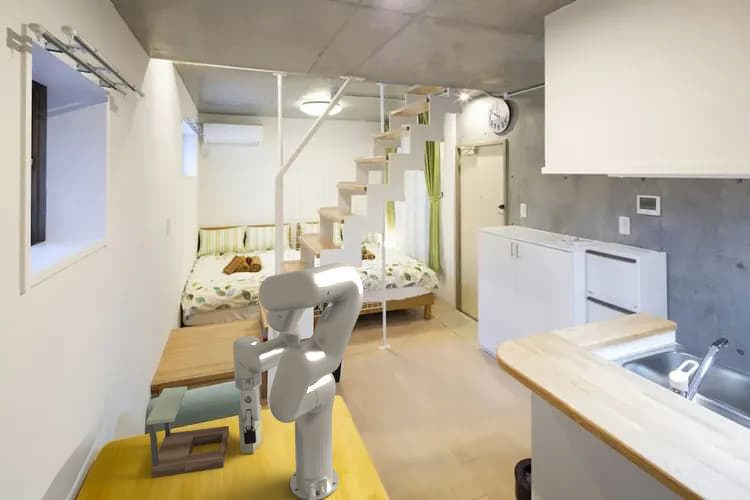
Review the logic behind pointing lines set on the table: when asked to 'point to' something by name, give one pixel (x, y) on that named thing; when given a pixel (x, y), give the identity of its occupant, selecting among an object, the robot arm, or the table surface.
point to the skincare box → (259, 439)
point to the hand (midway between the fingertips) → (251, 435)
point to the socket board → (182, 440)
